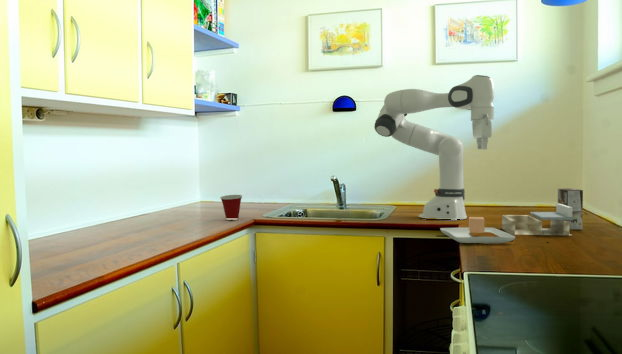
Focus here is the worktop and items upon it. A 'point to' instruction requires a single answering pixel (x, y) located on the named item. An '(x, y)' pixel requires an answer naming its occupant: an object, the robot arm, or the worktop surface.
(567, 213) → the sliding roof
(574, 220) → the coffee box
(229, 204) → the plastic cup
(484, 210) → the worktop surface
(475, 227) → the terracotta block
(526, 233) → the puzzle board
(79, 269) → the worktop surface
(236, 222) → the worktop surface
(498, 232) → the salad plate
